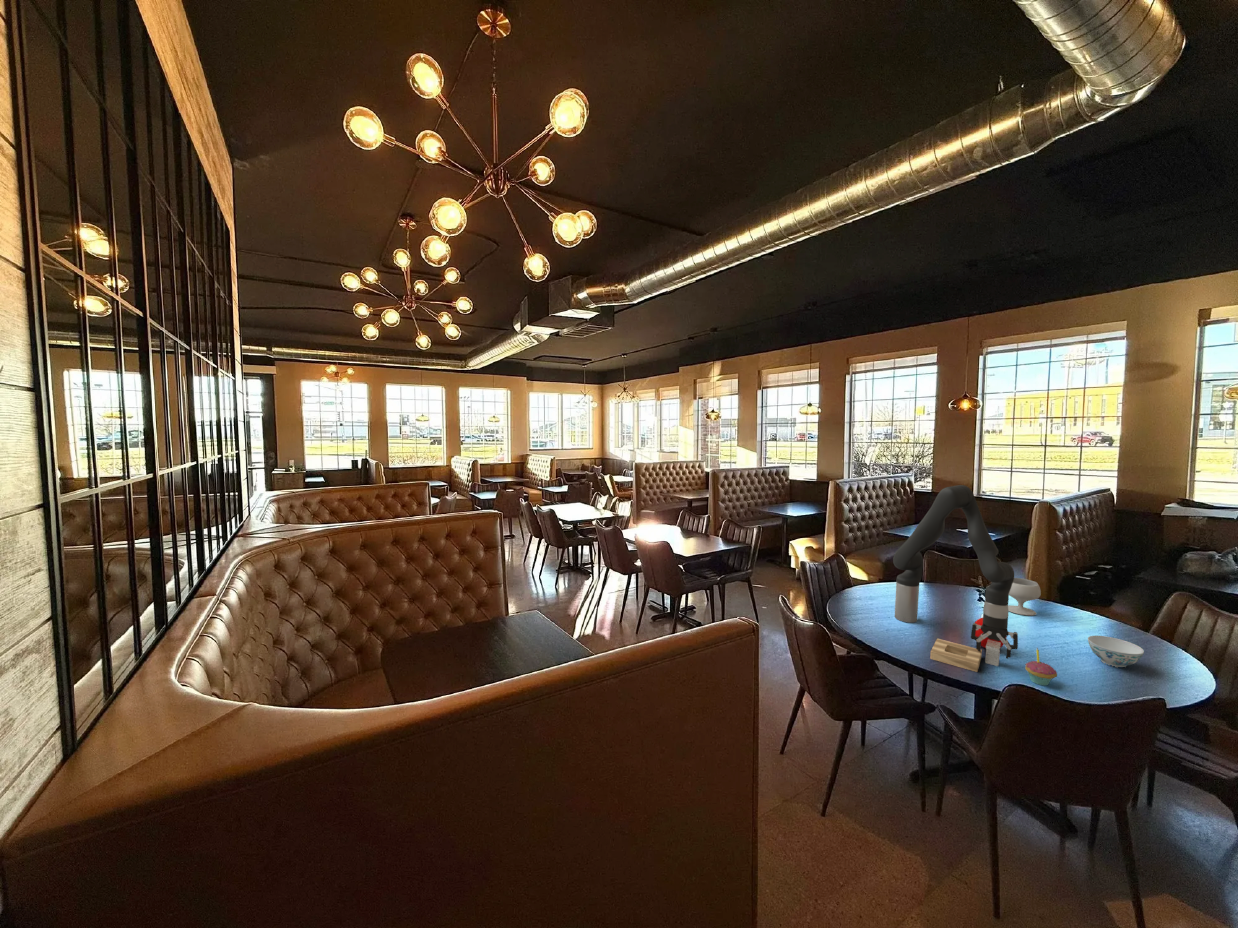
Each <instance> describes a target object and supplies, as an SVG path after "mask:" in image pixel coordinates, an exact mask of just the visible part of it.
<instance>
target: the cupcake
mask: <svg viewBox="0 0 1238 928" xmlns="http://www.w3.org/2000/svg"><path fill="white" fill-rule="evenodd" d="M1035 651H1036V660H1031V661H1028V662H1026V663H1025V667H1024V669H1025V670H1026V672H1027V673H1028V676H1029V679H1030V681H1031V682H1033V683H1034V684H1036V685H1039V686H1049V684H1050V682H1051V681H1052V679H1055V678H1057V676H1058V672H1057V671H1056V669H1055V668H1054V667H1053V666H1051V665H1049V664H1048V663H1045V662H1042V661H1040V652H1039V651H1040V650H1039V649H1038V647H1036V649H1035Z"/></svg>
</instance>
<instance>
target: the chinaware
mask: <svg viewBox="0 0 1238 928" xmlns="http://www.w3.org/2000/svg"><path fill="white" fill-rule="evenodd" d="M1087 642H1088V645H1089V649H1090V650H1091V651H1092V652H1093V654H1094V655H1095V656H1097V657H1098V658H1099V659H1100V661H1101V662H1102V663H1103V664H1105V663H1106V664H1105V665H1107V664H1108V666H1110V665H1112V666H1111V667H1113V666H1115V667H1114V668H1118V667H1125V668H1126V667H1127V666H1131V665H1133V664H1135V663H1137V662H1139V661H1140V660H1141V659H1142V657H1143V655H1144V653H1145V652H1144V649H1143V648H1142V647H1140V646H1139V645H1137V644H1134V643H1133V642H1130V641H1126V640H1124V639H1120V638H1117V637H1116V638H1115V637H1112V636H1111V637H1110V636H1106V635H1105V636H1104V635H1090V636H1088V637H1087Z"/></svg>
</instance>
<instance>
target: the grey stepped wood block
mask: <svg viewBox="0 0 1238 928" xmlns="http://www.w3.org/2000/svg"><path fill="white" fill-rule="evenodd" d="M1000 645H1001V643H1000V642H996V641H992V640H988V641H987V644H986V648H985V659H984V663H985V664H986V665H987V664H988V665H991V666H995V667H999V663H1000V654H1001V653H1000V652H1001V648H1000Z"/></svg>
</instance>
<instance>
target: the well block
mask: <svg viewBox="0 0 1238 928" xmlns="http://www.w3.org/2000/svg"><path fill="white" fill-rule="evenodd" d="M982 652H983V649H981V651H980V652H979V651H978V650H977V649H976V647H972V646H969V645H964V644H960V643H956V642H952V641H949V640H944V639H941V638H937V639H936V640H935V642H934V644H933V646H932V648H931V649H930V656H929V657H930V660H933V661H938V662H939V663H942V664H943V663H944V664H948V665H951V666H954V667H958V668H962V669H965V670H968V671H972V672H975V673H978V671H979V667H980V664H981V661H982V656H983V654H982Z"/></svg>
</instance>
